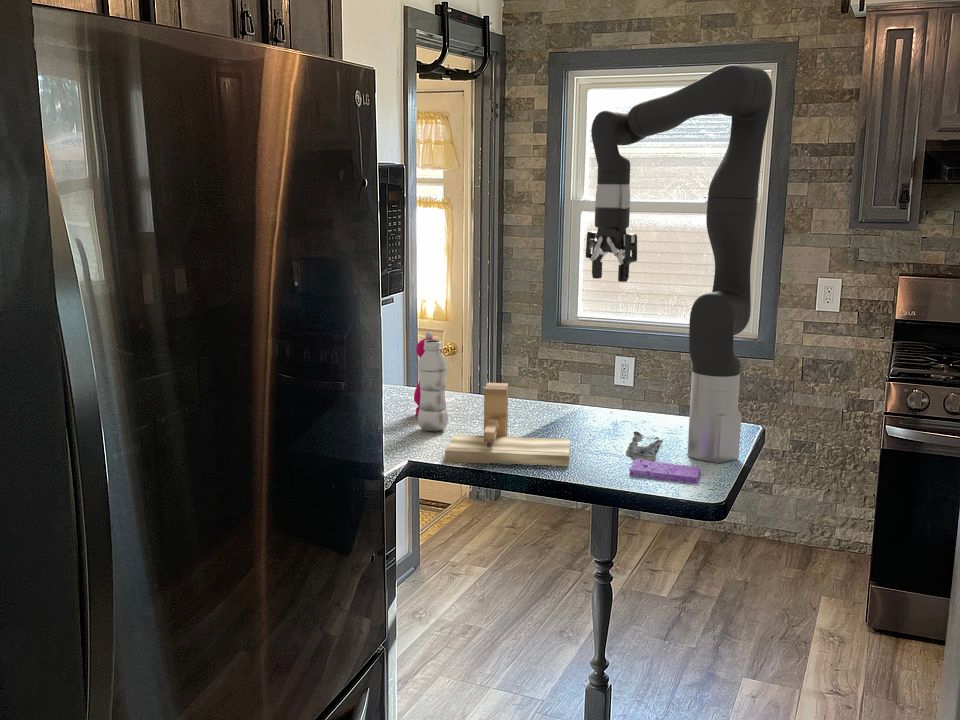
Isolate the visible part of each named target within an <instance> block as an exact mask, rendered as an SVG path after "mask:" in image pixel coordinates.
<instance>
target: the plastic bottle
mask: <svg viewBox="0 0 960 720" xmlns="http://www.w3.org/2000/svg"><path fill="white" fill-rule="evenodd" d="M441 346H442V340H439V339H436V340H426V341H424V350H425V353H424V354H423V355H422V356H421V358H420V357H419V359H420V360H419V359H418V360H419V361H418V360H417V361H418V362H417V373H418V379H419V380H420V389H421V390H420V393H421V396H420V409H419V413H418V417H417V422H418V426H419V427H420V430H423V431H429V432H438V431H443V430H445V429H446V428H447V426H448V422H449V417H448V416H449V415H448V414H449V413H448V409H447V403H446V381H447V373H448V362H447V360H446V358H445V356H444V355H443V354H442V353H441V352H440V350H442V351H443V347H441ZM419 380H418V381H419Z"/></svg>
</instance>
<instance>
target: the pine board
mask: <svg viewBox="0 0 960 720" xmlns="http://www.w3.org/2000/svg"><path fill="white" fill-rule="evenodd" d="M570 453H571V439H570V438H550V437H548V438H547V437H527V436H526V437H523V436H507V437H504V436H496V438H495V441H494V443H492V444H491V448H488V447H487V442H484V435H478V434H473V435H472V434H454V435H453V436H452V437H451V439H450V441H449V443H448V445H447V447H446V449H445V457H444V458H445V461H444V462H449V463H470V464H471V463H473V464H489V463H513V464H538V465H553V466H552V467H556V466H569V467H570Z"/></svg>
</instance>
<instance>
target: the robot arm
mask: <svg viewBox="0 0 960 720" xmlns="http://www.w3.org/2000/svg"><path fill="white" fill-rule="evenodd" d="M772 97H773V84H772V80H771V78H770V75H769V74H768V73H767V71H766V70H764V69H763V68H760V67H755V66H750V65H745V64H738V63H737V64H735V63H734V64H727V65H724V66H721V67H720V68H717V69H716V70H714V71H712V72H710V73H708V74H706V75H704V76H703V77H702V78H700V79H697V80H696V81H694V82H692V83H690V84H688V85H686V86H683V87H682V88H679V89H676V90H674V91H672V92H669V93H666V94H663V95H660V96H657V97H654V98H649V99H648V100H644V101H642V102H638V103H637V104H635V105H633V106H632V107H631V108H630V110H629V111H617V110H602V111H600V112H598V113H597V114H596V116H595V117H594V119H593V121H592V123H591V132H590V133H591V140H592V144H593V150H594V154H595V159H596V164H597V177H596V178H597V179H596V180H597V182H596V184H597V185H596V190H595V200H594V203H595V205H594V226H595V228H597V231H588V232H587V233H586V245H585V246H586V247H585V258H586V259H589V260H590V261H591V262H592V263H591V275H592V279H602V277H603V259H604V257H605V256H606V255H607V254H608V253H611V254H613V256H615V257H616V258H617V261H618V263H619V264H618V271H617V272H618V275H617V276H618V278H617V281H618V282H619V283H627V282H628V280H629V277H630V275H629V274H630V264H631V263H635V262H637V261H638V235H637V233H627V228H629V227H630V216H631V214H630V213H631V211H630V210H631V189H630V188H631V187H630V186H631V184H630V183H631V180H630V179H631V161H630V159H628V158H627V157H625V156H622V155H621V154H620V150H619V146H630V145H633V144H636V143H639V142H641V141H642V140H643V139H645V138H647V137H650V136H654V135H657V134H661V133H664V132H668V131H670V130H673V129H675V128H677V127H679V126H680V125H681V124H683V123H684V122H686V121H688V120H690V119H691V118H692V119H693V118H695V117H701V116H707V115H708V116H711V115H723V116H727V117H731V125H730V136H729V140H728V141H729V143H728V145H727V149H726V152H725V153H724V156H723V157H722V160H721V162H720V164H719V165H718V166H717V169H716V171H715V172H714V174H713V176H712V179H711V180H710V184H709V187H708V193H707V203H706V204H707V205H706V214H705V215H706V217H705V219H706V221H705V222H706V230H707V234H708V238H709V243H710V246H711V249H712V253H713V258H714V259H713V260H714V276H713V277H714V278H713V286H712V291H711V292H707V293H704V294H702V295H700V296H699V297H697V298H696V300H695V301H694V302H693V304H692V307H691V310H690V314H689V315H690V316H689V322H688V323H689V326H688V327H689V328H688V331H689V333H688V336H689V337H688V341H689V342H688V344H689V345H688V354H689V358H690V360H691V364H692V365H691V384H690V385H691V386H690V401H689V402H690V403H689V415H688V417H689V419H688V437H687V438H688V439H687V455H688V456H689V457H690V458H693V459H696V460H698V461H705V462H711V463H715V464H721V463H725V462H730V461H733V460H734V461H735V460H738V459H739V458H740V446H741V431H742V430H741V428H742V412H740V411H738V410H739V409H738V408H739V396H740V395H739V394H740V381H741V380H740V379H741V378H740V377H741V365H742V364H741V363H742V362H741V359H740V358H739V357H737V356H736V355H735V352H734V336H737V335H739V334H740V333H742V332H743V331H744V329H745V328H746V327H747V326H748V324H749V321H750V317H751V307H752V305H751V304H752V303H751V300H752V299H751V293H752V292H751V269H752V267H751V264H752V257H753V256H752V255H753V248H754V237H755V236H754V235H755V227H756V220H757V219H756V218H757V210H758V198H759V185H760V184H759V182H760V173H761V165H762V156H763V148H764V142H765V141H764V139H765V135H766V129H767V126H768V120H769V116H770V111H771V104H772Z"/></svg>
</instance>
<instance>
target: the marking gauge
mask: <svg viewBox="0 0 960 720" xmlns="http://www.w3.org/2000/svg"><path fill="white" fill-rule="evenodd" d="M508 408H509V383H507V382H506V383H504V382H503V383H501V382H487V383H486V384H485V387H484V389H483V436H484V442H487V447H488V448H491V444H492V443H494V441H495V438H496V436H504V437H508V427H509V426H508V421H509V419H508V417H509V416H508V415H509V413H508V412H509V409H508Z"/></svg>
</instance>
